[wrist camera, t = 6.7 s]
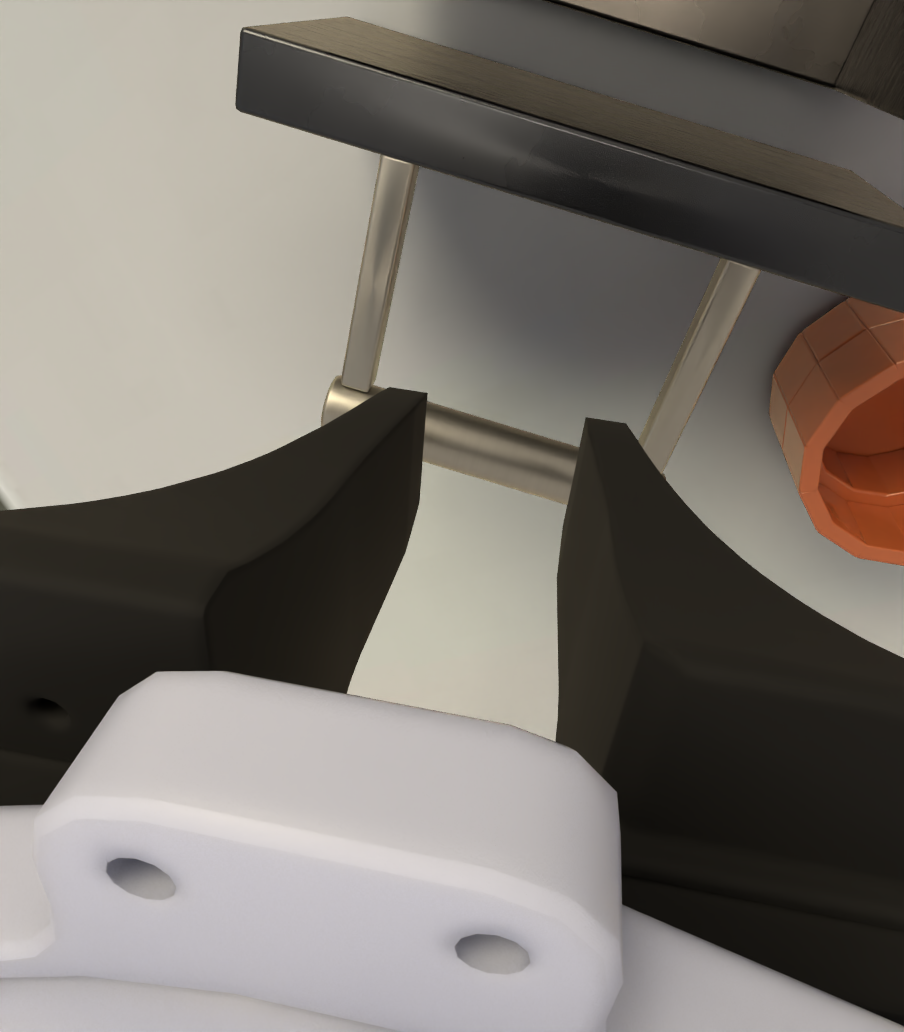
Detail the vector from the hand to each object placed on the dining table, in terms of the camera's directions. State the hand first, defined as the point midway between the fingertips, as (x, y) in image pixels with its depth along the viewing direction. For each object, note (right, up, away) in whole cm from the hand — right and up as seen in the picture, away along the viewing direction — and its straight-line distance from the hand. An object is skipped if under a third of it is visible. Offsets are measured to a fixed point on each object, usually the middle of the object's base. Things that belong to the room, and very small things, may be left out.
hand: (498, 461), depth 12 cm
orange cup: (+10, +3, +8) cm, 13 cm away
